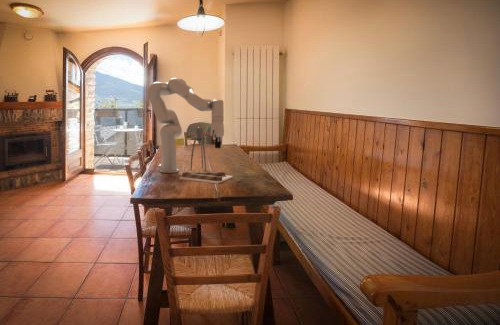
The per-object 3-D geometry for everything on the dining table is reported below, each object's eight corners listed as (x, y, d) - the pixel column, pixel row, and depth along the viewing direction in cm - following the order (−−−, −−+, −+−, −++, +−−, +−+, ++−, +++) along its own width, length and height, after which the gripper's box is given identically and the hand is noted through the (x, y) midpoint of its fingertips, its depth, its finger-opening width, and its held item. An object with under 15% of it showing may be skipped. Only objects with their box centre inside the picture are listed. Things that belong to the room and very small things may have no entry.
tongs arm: (190, 176, 232) (190, 172, 231) (190, 175, 235) (190, 171, 234) (225, 175, 234) (225, 172, 234) (225, 174, 237) (225, 171, 236)
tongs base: (182, 176, 230) (182, 172, 229) (185, 175, 233) (185, 171, 232) (219, 181, 219) (219, 176, 219) (222, 180, 222) (222, 175, 221)
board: (179, 179, 228) (179, 177, 228) (196, 173, 246) (196, 172, 246) (217, 183, 217) (217, 182, 217) (233, 177, 235) (233, 175, 235)
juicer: (205, 171, 255) (205, 127, 250) (190, 170, 257) (190, 127, 252) (210, 168, 265) (210, 126, 260) (195, 167, 267) (195, 126, 262)
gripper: (218, 118, 243) (218, 146, 246) (206, 119, 230) (206, 148, 233) (228, 119, 240) (228, 147, 243) (217, 119, 227) (217, 149, 229)
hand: (217, 147), depth 238 cm, fingers closed
